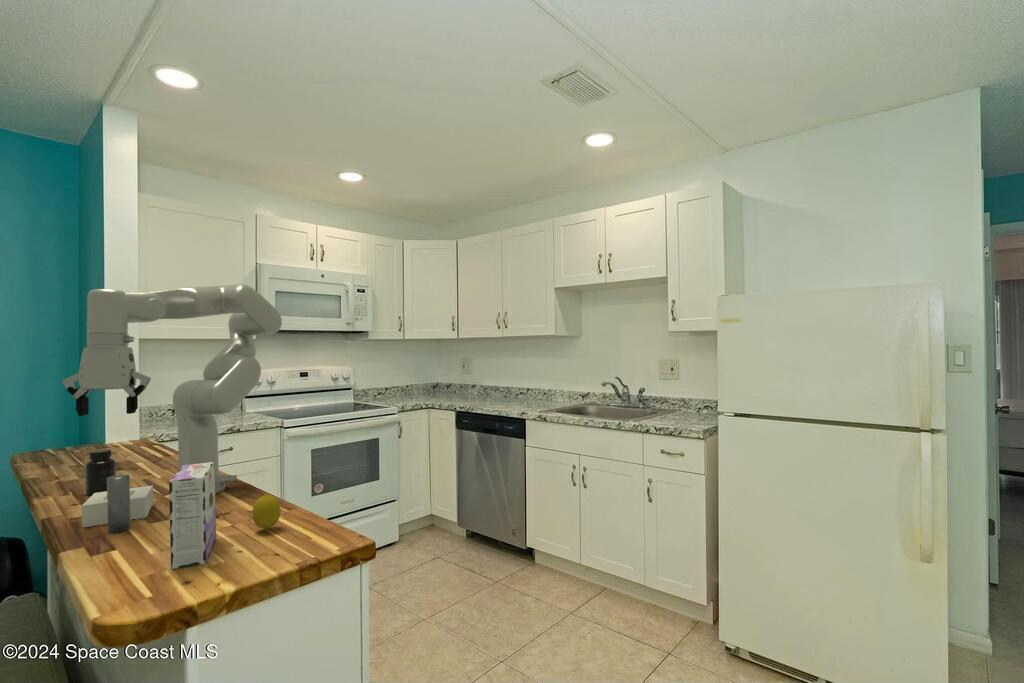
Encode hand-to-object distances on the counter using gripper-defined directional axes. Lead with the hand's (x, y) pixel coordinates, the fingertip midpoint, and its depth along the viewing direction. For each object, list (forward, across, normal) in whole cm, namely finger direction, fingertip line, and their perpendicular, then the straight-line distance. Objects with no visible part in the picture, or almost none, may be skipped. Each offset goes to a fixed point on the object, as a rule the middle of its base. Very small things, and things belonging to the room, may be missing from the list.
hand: (107, 414), depth 119 cm
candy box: (+26, -26, +27) cm, 46 cm away
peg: (+26, -5, +6) cm, 27 cm away
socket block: (+25, 0, -6) cm, 26 cm away
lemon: (+26, -38, +18) cm, 49 cm away
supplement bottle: (+25, +15, -32) cm, 43 cm away
